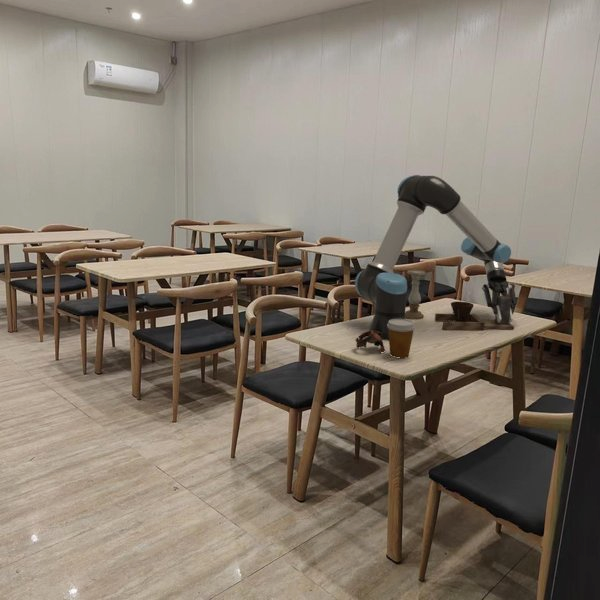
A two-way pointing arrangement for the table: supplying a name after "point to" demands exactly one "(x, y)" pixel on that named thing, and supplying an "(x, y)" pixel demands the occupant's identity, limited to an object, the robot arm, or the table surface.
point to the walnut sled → (475, 322)
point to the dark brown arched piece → (370, 339)
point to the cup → (461, 311)
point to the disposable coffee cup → (400, 336)
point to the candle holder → (414, 296)
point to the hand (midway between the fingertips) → (505, 320)
